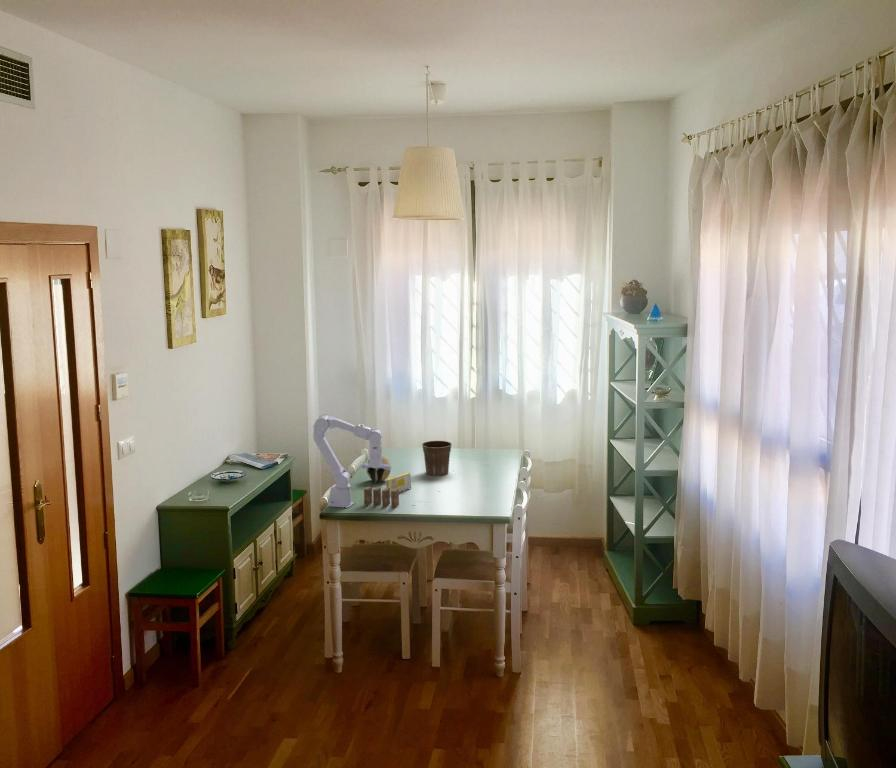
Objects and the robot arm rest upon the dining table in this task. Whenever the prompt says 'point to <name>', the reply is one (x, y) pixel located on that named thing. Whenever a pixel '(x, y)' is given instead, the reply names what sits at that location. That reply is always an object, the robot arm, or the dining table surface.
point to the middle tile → (385, 497)
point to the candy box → (399, 482)
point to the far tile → (394, 498)
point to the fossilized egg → (386, 472)
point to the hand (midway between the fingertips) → (376, 483)
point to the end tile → (367, 496)
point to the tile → (377, 496)
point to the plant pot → (437, 457)
